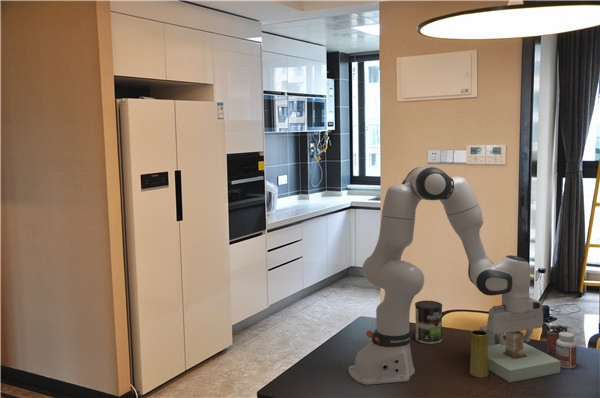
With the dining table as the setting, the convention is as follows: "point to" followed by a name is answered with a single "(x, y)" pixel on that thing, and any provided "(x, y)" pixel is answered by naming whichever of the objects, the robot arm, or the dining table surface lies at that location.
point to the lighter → (554, 337)
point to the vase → (479, 354)
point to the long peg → (514, 344)
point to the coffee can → (428, 322)
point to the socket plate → (521, 363)
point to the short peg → (490, 336)
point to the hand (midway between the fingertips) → (514, 343)
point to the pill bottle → (566, 350)
